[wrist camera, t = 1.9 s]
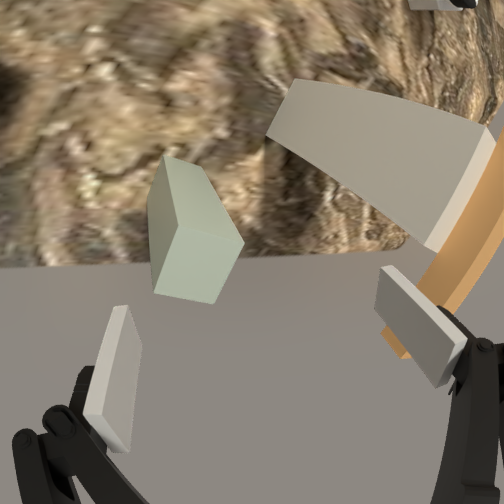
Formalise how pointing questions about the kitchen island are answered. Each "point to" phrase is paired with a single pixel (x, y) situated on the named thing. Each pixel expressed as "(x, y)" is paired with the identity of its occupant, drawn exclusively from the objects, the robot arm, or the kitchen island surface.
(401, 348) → the bar
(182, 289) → the pale green tall block
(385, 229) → the kitchen island surface
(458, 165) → the post
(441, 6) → the container
